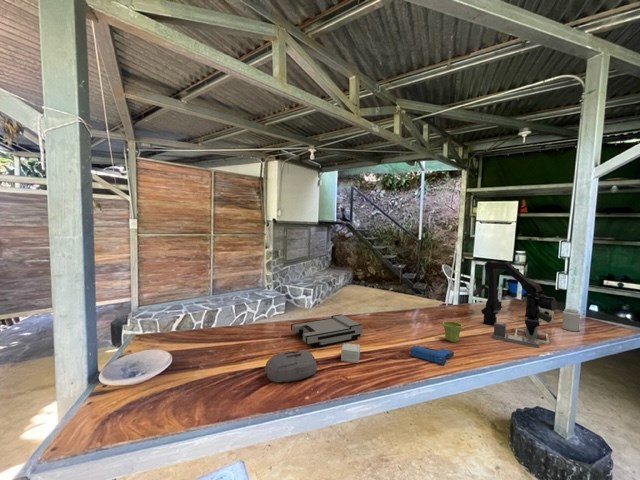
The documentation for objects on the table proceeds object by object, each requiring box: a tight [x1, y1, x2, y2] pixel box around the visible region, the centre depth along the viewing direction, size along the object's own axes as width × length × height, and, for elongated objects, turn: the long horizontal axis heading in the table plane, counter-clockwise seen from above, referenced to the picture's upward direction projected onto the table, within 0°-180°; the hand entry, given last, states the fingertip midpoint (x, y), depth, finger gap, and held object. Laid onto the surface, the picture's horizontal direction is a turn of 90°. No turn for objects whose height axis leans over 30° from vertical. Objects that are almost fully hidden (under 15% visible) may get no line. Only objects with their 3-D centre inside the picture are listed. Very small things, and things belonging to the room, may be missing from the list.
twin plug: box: [493, 321, 507, 337], centre depth 152 cm, size 5×5×6 cm
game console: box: [290, 313, 363, 349], centre depth 147 cm, size 21×32×8 cm, turn 117°
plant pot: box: [442, 320, 463, 343], centre depth 147 cm, size 9×9×9 cm
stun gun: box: [410, 345, 455, 366], centre depth 128 cm, size 4×16×15 cm
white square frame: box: [514, 328, 550, 345], centre depth 154 cm, size 15×15×1 cm
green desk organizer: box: [538, 307, 555, 323], centre depth 184 cm, size 10×10×14 cm
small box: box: [340, 342, 361, 364], centre depth 124 cm, size 8×8×5 cm
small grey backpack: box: [264, 350, 318, 384], centre depth 109 cm, size 15×8×20 cm
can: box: [561, 308, 581, 333], centre depth 165 cm, size 8×8×12 cm
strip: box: [491, 332, 540, 349], centre depth 148 cm, size 20×9×1 cm, turn 53°
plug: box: [525, 325, 538, 339], centre depth 154 cm, size 5×5×6 cm
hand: (531, 333), depth 154 cm, fingers closed on plug, 5 cm apart
